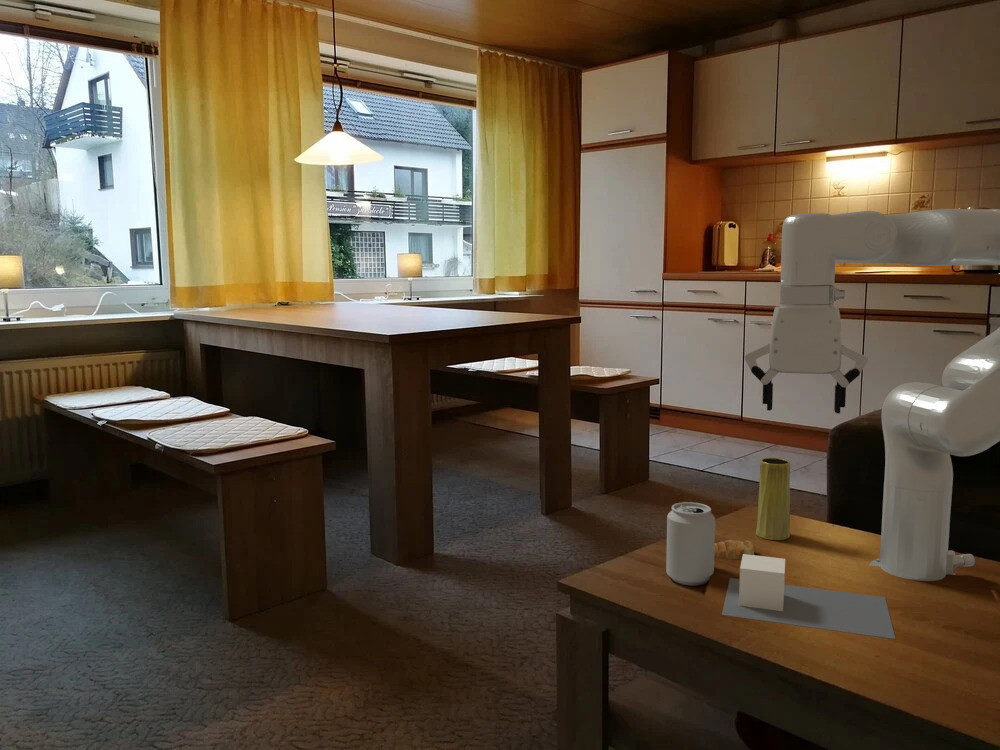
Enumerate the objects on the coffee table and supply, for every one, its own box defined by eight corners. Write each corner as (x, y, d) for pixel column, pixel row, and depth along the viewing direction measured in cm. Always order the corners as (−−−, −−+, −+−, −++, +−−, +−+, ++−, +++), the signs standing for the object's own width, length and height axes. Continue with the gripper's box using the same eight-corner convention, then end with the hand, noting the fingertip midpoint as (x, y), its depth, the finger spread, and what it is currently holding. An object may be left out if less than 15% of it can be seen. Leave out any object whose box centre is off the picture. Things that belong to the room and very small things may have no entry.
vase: (758, 540, 145) (760, 464, 143) (753, 529, 151) (755, 456, 149) (792, 541, 144) (795, 465, 142) (786, 530, 150) (789, 457, 148)
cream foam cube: (783, 594, 117) (785, 558, 117) (783, 611, 112) (784, 573, 111) (741, 589, 119) (742, 554, 119) (738, 605, 114) (740, 568, 113)
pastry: (699, 567, 133) (700, 545, 132) (695, 553, 140) (696, 532, 139) (757, 570, 132) (758, 548, 131) (750, 556, 138) (751, 535, 138)
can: (715, 589, 124) (717, 515, 122) (666, 585, 125) (667, 512, 123) (712, 571, 131) (714, 501, 129) (666, 568, 132) (667, 498, 131)
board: (884, 606, 116) (885, 597, 116) (894, 649, 103) (895, 638, 103) (729, 587, 124) (729, 578, 124) (721, 624, 111) (721, 614, 111)
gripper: (868, 296, 118) (863, 408, 121) (747, 297, 124) (745, 404, 127) (872, 298, 111) (867, 417, 114) (744, 299, 117) (742, 412, 120)
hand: (802, 410), depth 120 cm, fingers open, 9 cm apart
